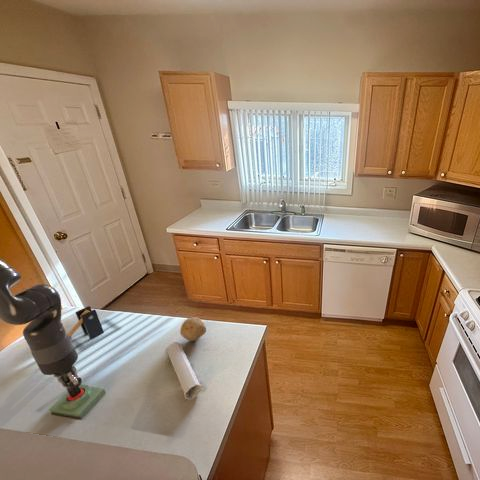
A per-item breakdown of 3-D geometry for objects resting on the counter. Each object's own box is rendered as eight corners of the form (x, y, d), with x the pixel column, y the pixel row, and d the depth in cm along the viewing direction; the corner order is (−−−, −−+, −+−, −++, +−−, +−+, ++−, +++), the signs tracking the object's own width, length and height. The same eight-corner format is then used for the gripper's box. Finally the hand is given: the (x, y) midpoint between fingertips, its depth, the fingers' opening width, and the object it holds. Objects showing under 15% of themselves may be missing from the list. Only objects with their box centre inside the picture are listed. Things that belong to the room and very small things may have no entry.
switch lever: (68, 347, 94) (58, 345, 91) (63, 343, 95) (54, 341, 93) (96, 314, 100) (87, 311, 97) (91, 311, 101) (83, 308, 98)
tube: (161, 346, 95) (181, 395, 78) (175, 336, 98) (197, 381, 81) (169, 353, 98) (189, 402, 81) (182, 344, 101) (205, 389, 84)
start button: (66, 402, 76) (64, 398, 75) (77, 391, 79) (76, 387, 79) (76, 404, 76) (74, 400, 75) (88, 393, 79) (86, 389, 78)
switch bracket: (83, 351, 96) (72, 325, 91) (70, 341, 100) (59, 315, 95) (118, 331, 106) (110, 306, 101) (105, 323, 110) (96, 298, 105)
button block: (51, 413, 75) (46, 404, 74) (78, 388, 83) (74, 380, 81) (81, 419, 74) (77, 410, 73) (106, 393, 82) (102, 384, 80)
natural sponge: (178, 338, 104) (174, 318, 100) (200, 327, 110) (196, 308, 106) (187, 350, 99) (183, 330, 95) (209, 338, 105) (206, 319, 101)
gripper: (25, 351, 70) (49, 394, 77) (47, 372, 64) (70, 416, 71) (61, 334, 76) (80, 375, 83) (83, 352, 70) (101, 393, 77)
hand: (75, 393), depth 77 cm, fingers closed
